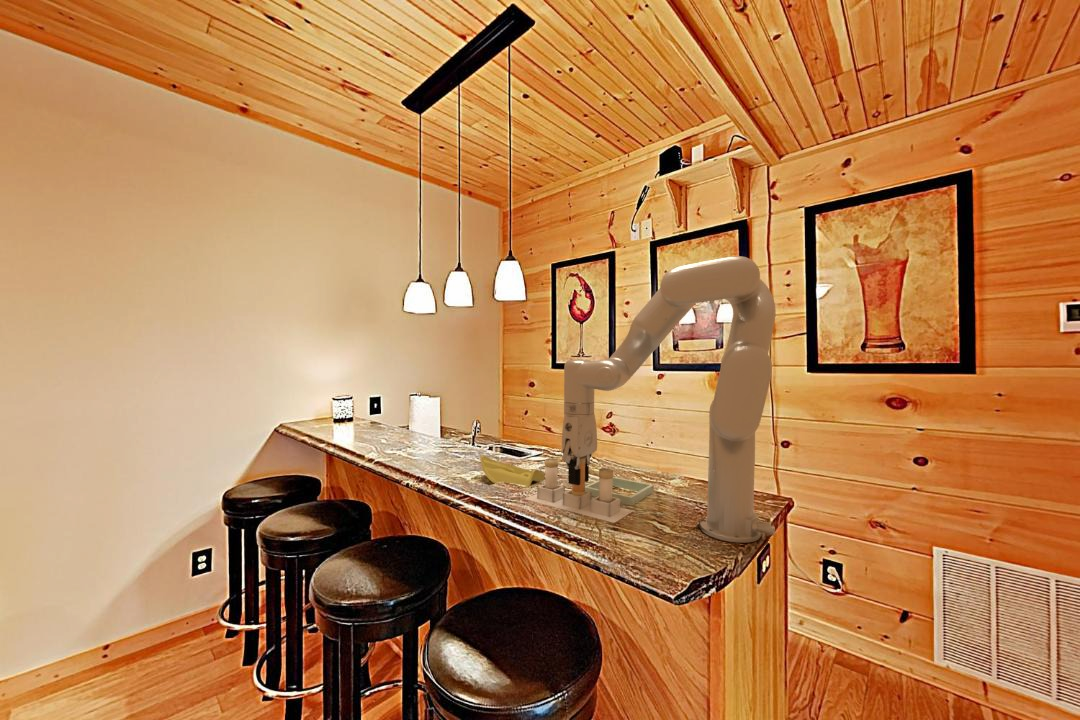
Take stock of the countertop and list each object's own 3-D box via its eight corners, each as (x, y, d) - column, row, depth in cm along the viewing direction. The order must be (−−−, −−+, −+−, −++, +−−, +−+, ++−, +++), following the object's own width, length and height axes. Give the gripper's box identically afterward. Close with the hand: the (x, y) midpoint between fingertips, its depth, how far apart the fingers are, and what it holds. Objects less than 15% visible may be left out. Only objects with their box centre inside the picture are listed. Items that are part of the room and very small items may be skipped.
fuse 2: (614, 511, 112) (615, 470, 111) (608, 515, 109) (609, 473, 109) (602, 508, 114) (603, 467, 113) (595, 512, 111) (596, 470, 111)
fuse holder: (546, 495, 128) (546, 478, 128) (633, 516, 112) (633, 498, 112) (523, 504, 120) (524, 487, 120) (614, 529, 104) (614, 509, 104)
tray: (653, 497, 127) (653, 484, 127) (631, 511, 116) (631, 497, 116) (608, 487, 136) (608, 475, 135) (583, 499, 124) (583, 486, 124)
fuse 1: (560, 497, 121) (560, 459, 121) (552, 501, 118) (553, 462, 118) (549, 495, 123) (550, 457, 123) (541, 498, 120) (542, 460, 120)
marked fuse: (587, 496, 116) (588, 456, 116) (580, 499, 114) (581, 459, 113) (576, 493, 118) (576, 454, 118) (568, 496, 116) (569, 457, 115)
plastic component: (548, 475, 140) (533, 467, 132) (540, 499, 137) (525, 493, 129) (495, 461, 150) (478, 453, 142) (487, 483, 147) (470, 477, 139)
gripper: (574, 414, 107) (573, 493, 107) (608, 407, 120) (607, 477, 120) (547, 411, 111) (547, 487, 111) (583, 405, 124) (582, 473, 125)
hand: (578, 481), depth 116 cm, fingers closed on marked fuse, 3 cm apart
